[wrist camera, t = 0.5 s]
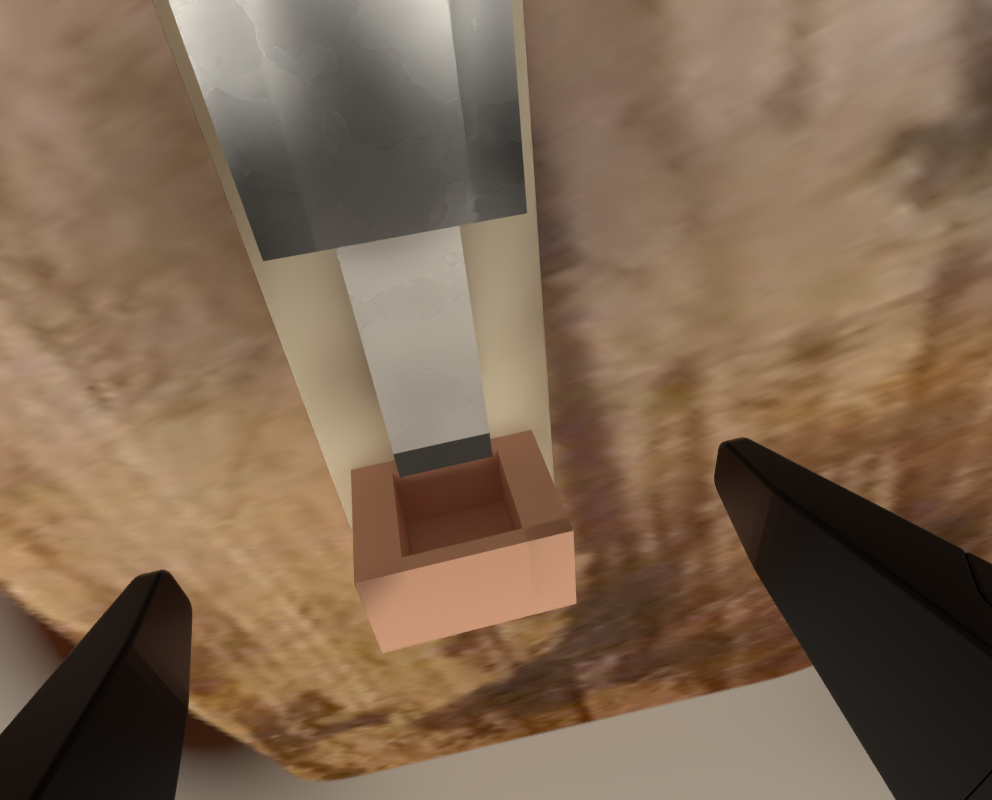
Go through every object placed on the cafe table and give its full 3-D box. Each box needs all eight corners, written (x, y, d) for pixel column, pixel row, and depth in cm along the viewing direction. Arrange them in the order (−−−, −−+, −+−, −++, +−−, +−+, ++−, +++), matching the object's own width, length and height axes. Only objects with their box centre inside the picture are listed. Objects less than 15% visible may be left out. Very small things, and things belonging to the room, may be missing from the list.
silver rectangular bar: (363, -309, 11) (370, -376, 9) (475, 401, 22) (492, 456, 19) (200, -295, 11) (164, -361, 9) (392, 419, 21) (399, 477, 19)
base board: (493, -285, 14) (503, -300, 13) (552, 535, 31) (558, 550, 30) (72, -246, 13) (55, -259, 12) (374, 577, 30) (376, 595, 29)
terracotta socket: (531, 429, 25) (573, 530, 21) (537, 500, 27) (576, 603, 23) (350, 470, 24) (354, 583, 20) (374, 538, 27) (382, 652, 22)
